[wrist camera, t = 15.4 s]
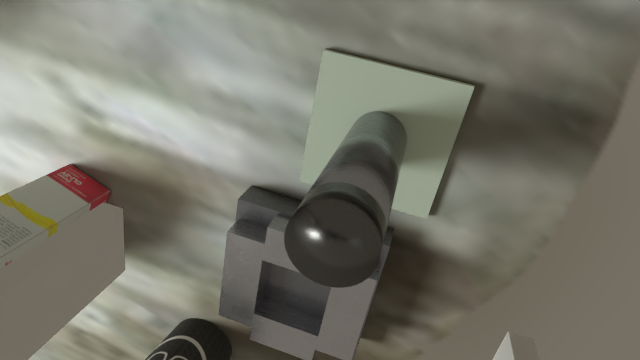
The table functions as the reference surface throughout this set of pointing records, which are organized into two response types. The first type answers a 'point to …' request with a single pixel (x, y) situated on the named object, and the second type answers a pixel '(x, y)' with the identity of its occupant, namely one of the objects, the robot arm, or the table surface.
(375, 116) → the dark glossy cylinder
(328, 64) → the mat
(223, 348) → the coffee cup
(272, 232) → the block
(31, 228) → the ink box
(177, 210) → the table surface
